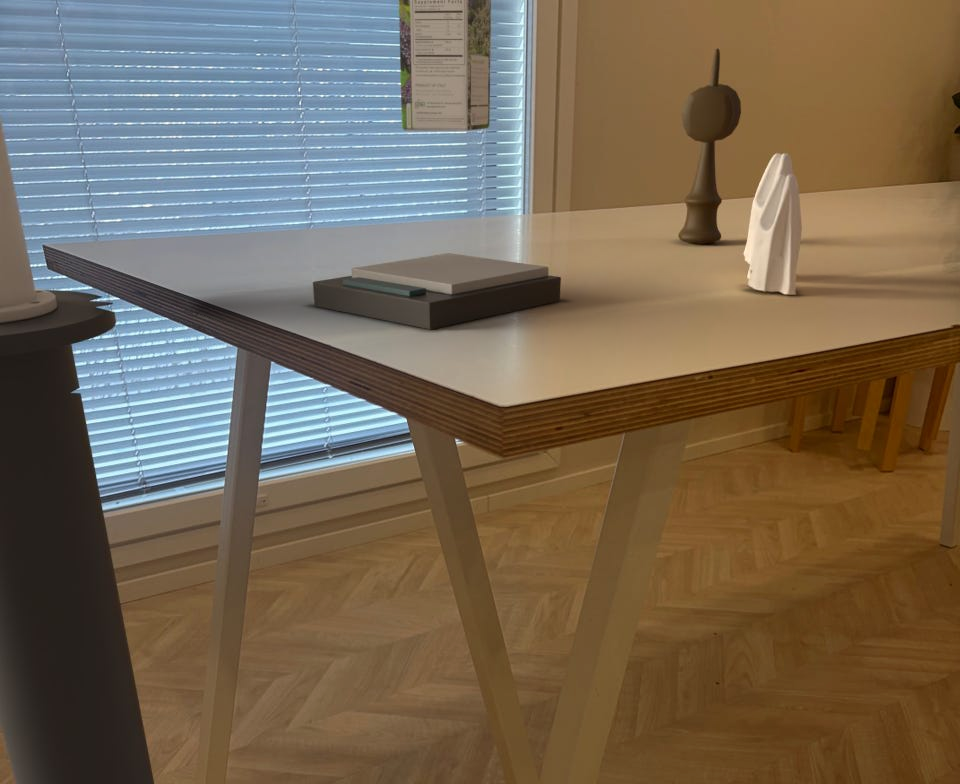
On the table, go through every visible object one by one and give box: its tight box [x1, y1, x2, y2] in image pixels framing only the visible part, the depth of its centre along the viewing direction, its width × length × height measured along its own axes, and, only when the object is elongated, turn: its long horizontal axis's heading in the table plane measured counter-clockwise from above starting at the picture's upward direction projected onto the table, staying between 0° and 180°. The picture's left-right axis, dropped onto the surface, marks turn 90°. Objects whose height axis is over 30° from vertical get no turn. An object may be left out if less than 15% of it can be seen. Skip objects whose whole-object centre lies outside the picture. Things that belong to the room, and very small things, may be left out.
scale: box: [312, 252, 562, 330], centre depth 88 cm, size 16×14×3 cm
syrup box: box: [398, 0, 492, 132], centre depth 80 cm, size 6×6×14 cm
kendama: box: [677, 48, 742, 244], centre depth 117 cm, size 6×10×20 cm, turn 163°
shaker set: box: [743, 152, 803, 296], centre depth 94 cm, size 12×4×11 cm, turn 171°
